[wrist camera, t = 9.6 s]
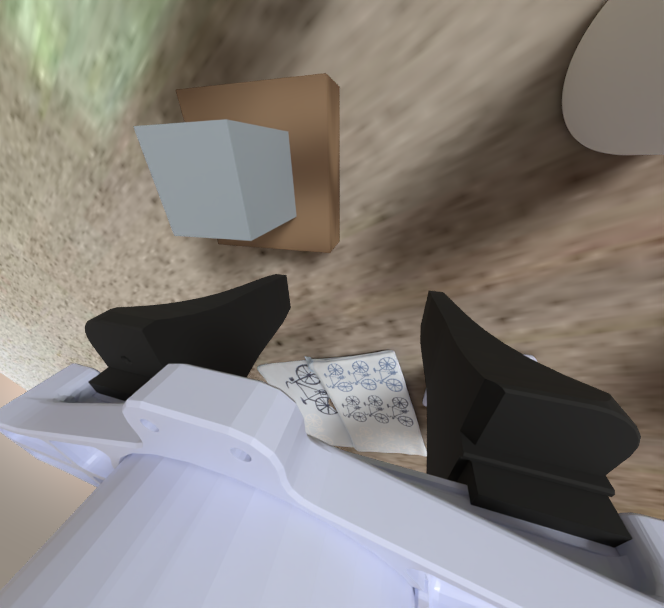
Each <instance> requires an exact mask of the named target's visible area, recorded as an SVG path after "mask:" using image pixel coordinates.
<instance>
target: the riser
mask: <svg viewBox="0 0 664 608" xmlns="http://www.w3.org/2000/svg"><path fill="white" fill-rule="evenodd" d="M176 93H177V97H178V100H179V104H180V107H181V111H182V115H183V118H184V122H198V121H211V120H224V119H227V120H232V121H237V122H242V123H247V124H252V125H257V126H262V127H267V128H272V129H277V130H282V131H287V132H288V134H289V144H290V154H291V165H292V175H293V185H294V195H295V206H296V216H297V217H295V218H293V219H291V220H289V221H287V222H285V223H284V224H282V225H280V226H278V227H276V228H274V229H272V230H271V231H269V232H267V233H265V234H263V235H261V236H259V237H258V238H256V239H254V240H252V241H247V240H232V239H217V240H218V244H224V245H236V246H249V247H261V248H274V249H286V250H299V251H312V252H324V253H330V252H331V251H332V250H333V249H334V247H335V246H336V245H337V244H338V243H339V241H340V184H339V86H338V85H337V84H336V83H335V82H334V81H333V80H332V79H331V78H330V77H329V76H328V75H327V74H326V73H324V74H314V75H305V76H296V77H287V78H278V79H269V80H259V81H250V82H241V83H232V84H223V85H214V86H205V87H195V88H186V89H177V90H176Z"/></svg>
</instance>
